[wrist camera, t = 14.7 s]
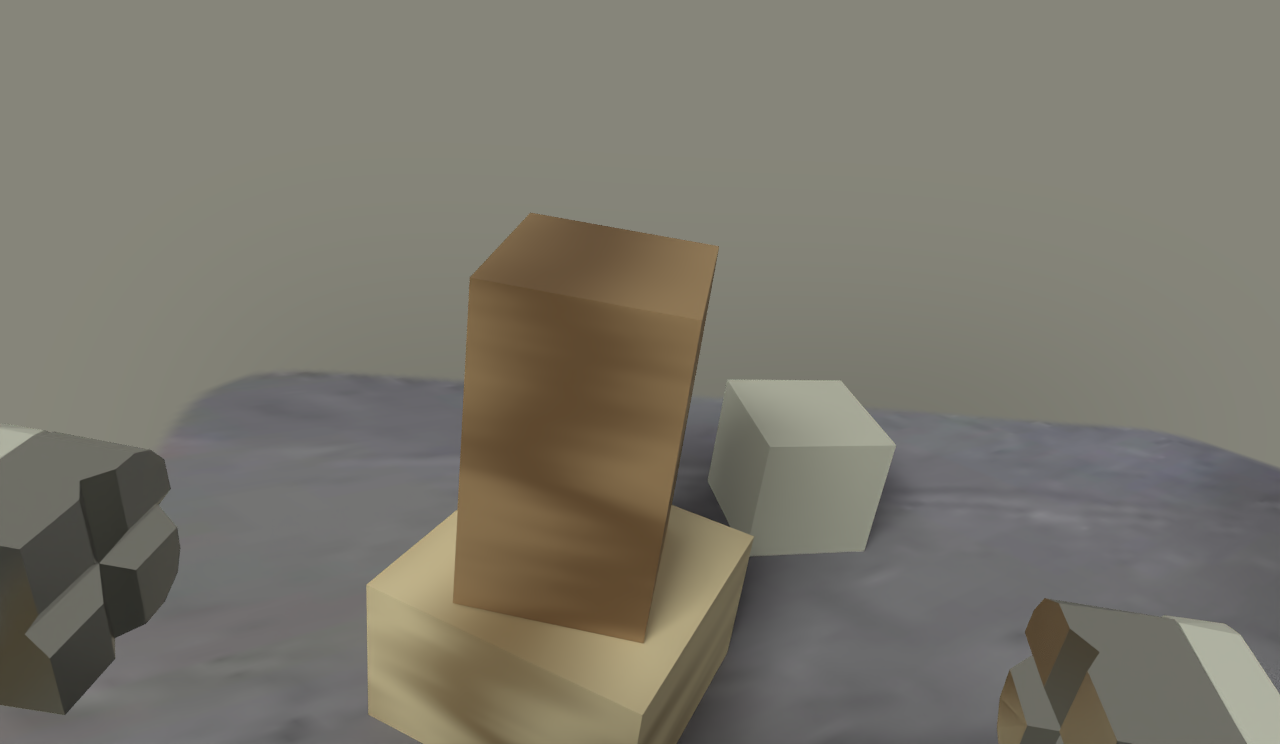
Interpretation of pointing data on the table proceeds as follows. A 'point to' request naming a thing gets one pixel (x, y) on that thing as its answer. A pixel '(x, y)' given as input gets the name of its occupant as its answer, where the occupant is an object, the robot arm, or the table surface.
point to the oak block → (550, 651)
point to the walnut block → (576, 420)
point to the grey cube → (798, 466)
